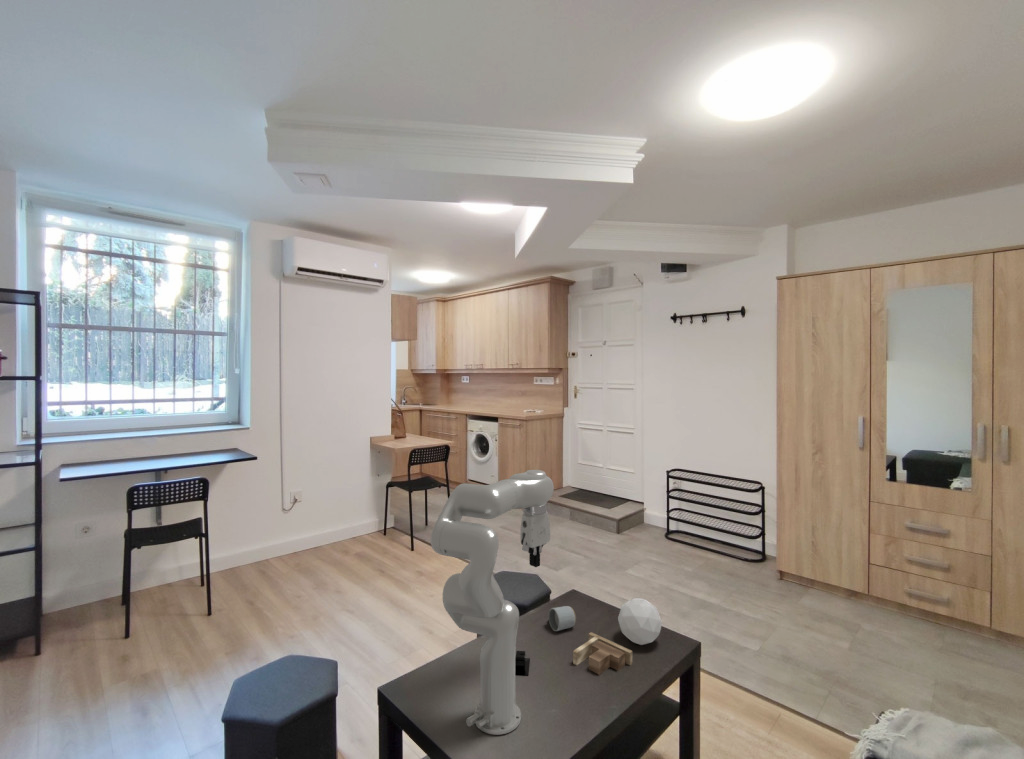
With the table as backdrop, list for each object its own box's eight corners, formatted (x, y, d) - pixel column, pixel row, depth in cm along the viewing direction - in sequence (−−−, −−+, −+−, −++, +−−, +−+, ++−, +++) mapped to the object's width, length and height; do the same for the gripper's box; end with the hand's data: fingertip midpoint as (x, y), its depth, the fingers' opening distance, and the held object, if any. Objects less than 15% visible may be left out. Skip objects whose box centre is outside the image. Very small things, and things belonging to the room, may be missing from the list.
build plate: (530, 681, 143) (530, 666, 143) (506, 680, 143) (506, 665, 143) (532, 657, 155) (532, 643, 155) (510, 656, 156) (510, 642, 156)
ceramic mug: (577, 629, 171) (577, 608, 171) (558, 635, 168) (558, 613, 168) (561, 617, 181) (561, 596, 181) (543, 621, 177) (543, 601, 177)
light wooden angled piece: (609, 682, 141) (609, 669, 141) (566, 660, 153) (567, 647, 153) (632, 663, 151) (632, 650, 151) (591, 643, 162) (591, 632, 162)
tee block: (607, 679, 143) (607, 666, 143) (580, 665, 150) (580, 652, 150) (625, 665, 150) (625, 652, 150) (598, 652, 157) (598, 640, 157)
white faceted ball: (651, 657, 163) (677, 632, 157) (616, 649, 158) (641, 623, 153) (637, 618, 175) (661, 594, 170) (605, 610, 171) (628, 585, 165)
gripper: (527, 515, 144) (527, 575, 144) (558, 506, 155) (558, 562, 155) (510, 511, 149) (510, 568, 149) (541, 502, 160) (541, 556, 160)
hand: (534, 565), depth 152 cm, fingers closed
